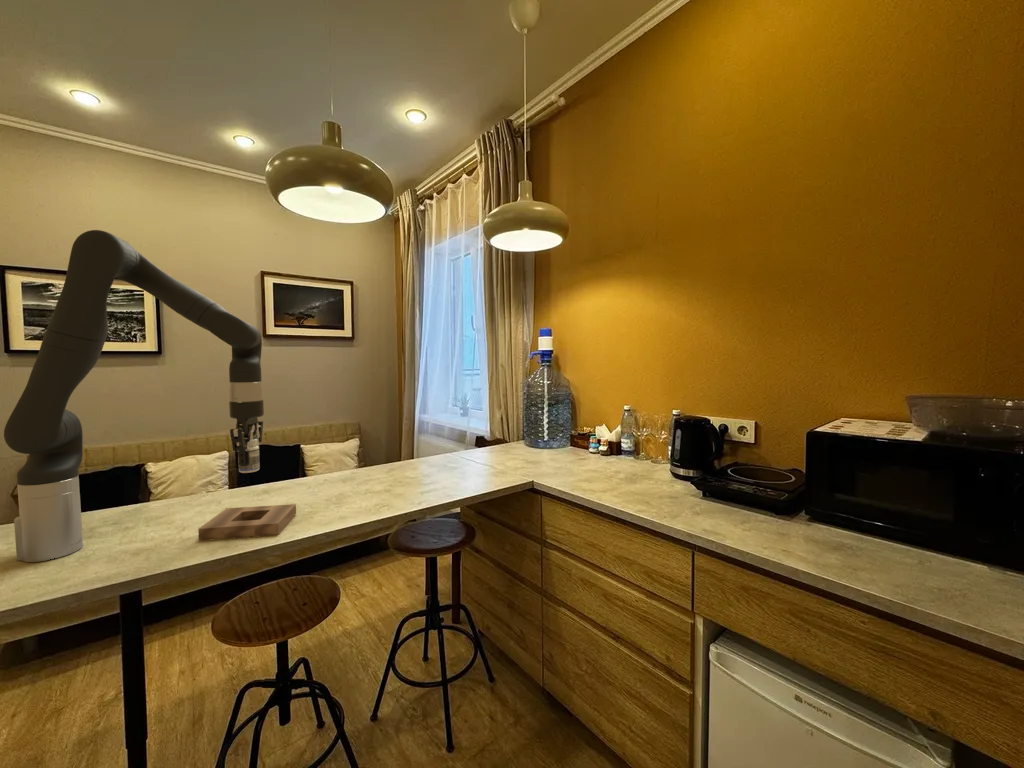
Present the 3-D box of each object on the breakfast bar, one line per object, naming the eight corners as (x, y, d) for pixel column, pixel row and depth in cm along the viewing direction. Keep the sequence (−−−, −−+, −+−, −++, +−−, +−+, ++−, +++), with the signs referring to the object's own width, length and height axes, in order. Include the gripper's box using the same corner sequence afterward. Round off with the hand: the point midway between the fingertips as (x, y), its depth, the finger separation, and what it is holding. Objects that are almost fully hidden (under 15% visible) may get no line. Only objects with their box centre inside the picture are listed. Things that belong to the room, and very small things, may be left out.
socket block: (198, 540, 100) (198, 528, 100) (226, 518, 113) (226, 508, 113) (278, 534, 103) (278, 523, 103) (296, 514, 117) (295, 504, 117)
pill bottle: (236, 470, 107) (235, 439, 107) (257, 467, 111) (256, 437, 110) (240, 474, 104) (239, 442, 103) (261, 470, 107) (260, 439, 107)
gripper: (243, 396, 112) (245, 457, 113) (216, 402, 98) (219, 471, 99) (272, 396, 114) (274, 456, 115) (250, 401, 100) (252, 469, 101)
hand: (248, 462), depth 107 cm, fingers closed on pill bottle, 4 cm apart
